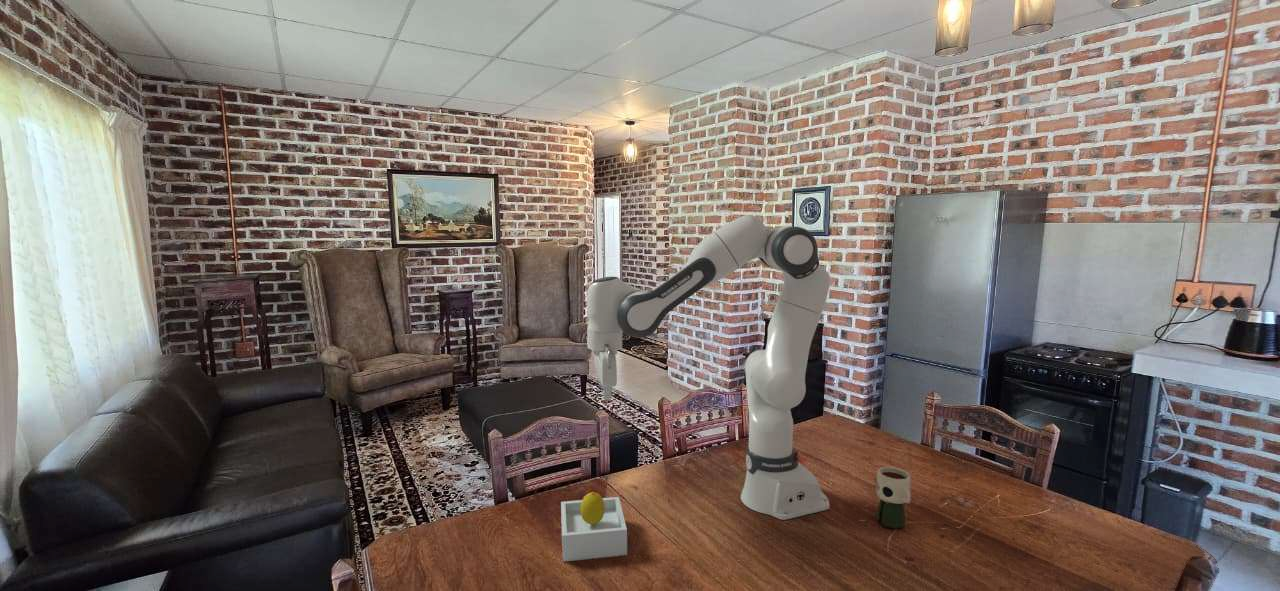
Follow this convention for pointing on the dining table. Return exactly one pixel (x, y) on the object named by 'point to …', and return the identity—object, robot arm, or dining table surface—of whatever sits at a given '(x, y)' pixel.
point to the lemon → (592, 508)
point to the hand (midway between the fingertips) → (605, 393)
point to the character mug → (892, 495)
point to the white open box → (593, 532)
